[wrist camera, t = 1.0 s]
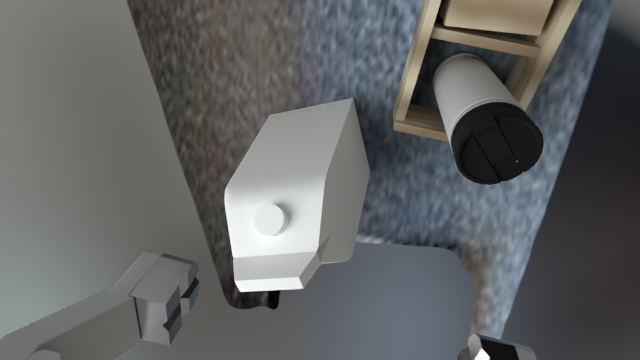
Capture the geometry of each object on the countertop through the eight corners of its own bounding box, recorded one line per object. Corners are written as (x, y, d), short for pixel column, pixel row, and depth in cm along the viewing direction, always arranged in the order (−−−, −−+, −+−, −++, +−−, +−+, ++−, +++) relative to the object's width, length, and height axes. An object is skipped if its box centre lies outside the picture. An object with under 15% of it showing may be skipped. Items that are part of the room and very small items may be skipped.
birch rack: (439, -56, 36) (448, -58, 30) (568, -33, 35) (603, -30, 30) (393, 107, 46) (393, 130, 40) (493, 128, 45) (507, 154, 40)
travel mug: (470, 37, 40) (525, 96, 24) (496, 84, 43) (561, 168, 26) (421, 68, 43) (438, 141, 26) (446, 111, 45) (477, 203, 29)
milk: (294, 182, 55) (231, 329, 34) (269, 114, 50) (176, 238, 28) (370, 172, 52) (353, 327, 31) (353, 97, 47) (318, 223, 25)
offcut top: (455, -31, 34) (458, -30, 33) (553, -22, 33) (561, -21, 32) (442, 22, 37) (444, 25, 35) (533, 32, 36) (539, 36, 34)
